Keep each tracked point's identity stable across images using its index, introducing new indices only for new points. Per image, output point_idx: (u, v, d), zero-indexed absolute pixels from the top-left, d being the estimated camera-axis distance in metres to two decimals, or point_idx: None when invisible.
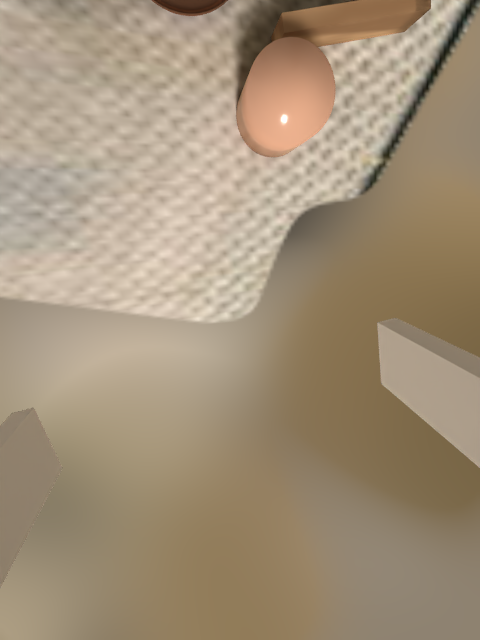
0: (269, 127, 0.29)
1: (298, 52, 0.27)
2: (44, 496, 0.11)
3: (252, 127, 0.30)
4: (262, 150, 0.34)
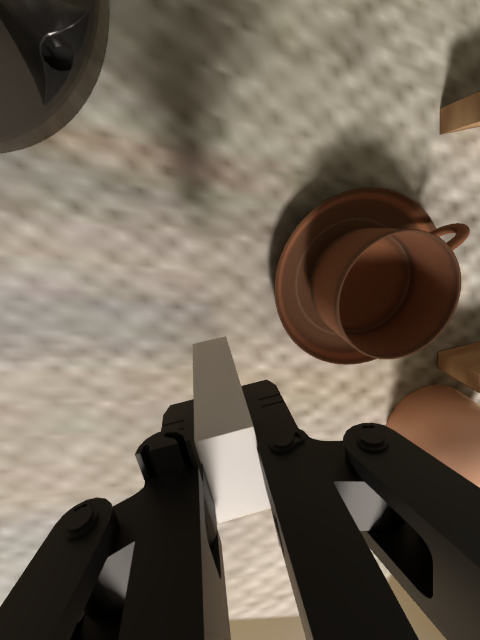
0: None
1: None
2: None
3: None
4: None
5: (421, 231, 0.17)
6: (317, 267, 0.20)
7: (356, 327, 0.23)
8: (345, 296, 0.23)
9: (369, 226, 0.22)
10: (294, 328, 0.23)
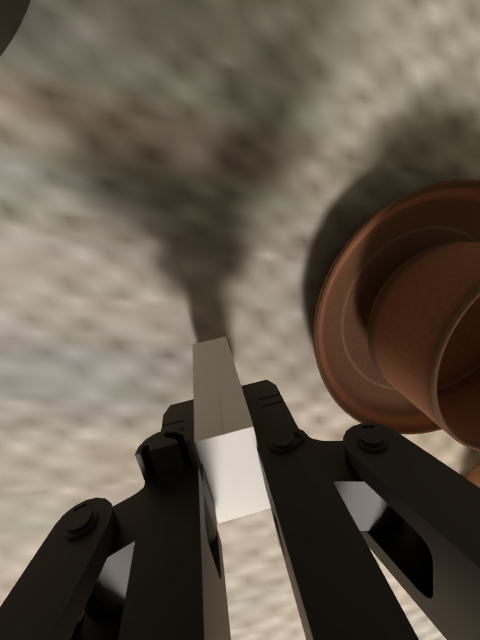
0: None
1: None
2: None
3: None
4: None
5: None
6: (381, 302, 0.13)
7: None
8: None
9: (450, 238, 0.15)
10: (339, 385, 0.16)
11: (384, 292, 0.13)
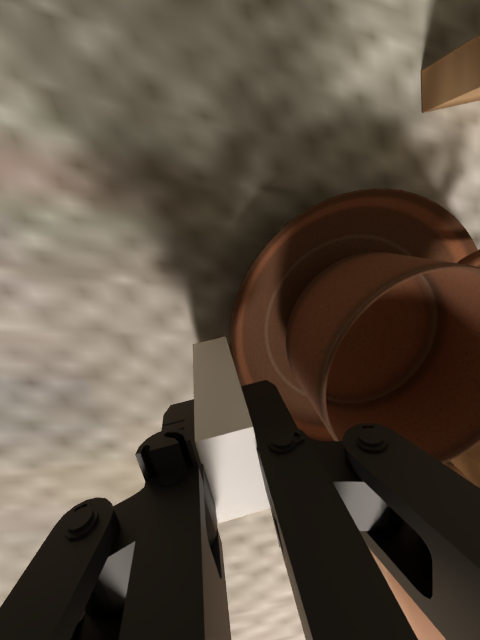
0: None
1: None
2: None
3: None
4: None
5: (469, 267, 0.09)
6: (293, 317, 0.13)
7: (358, 394, 0.15)
8: (341, 347, 0.16)
9: (373, 246, 0.15)
10: None
11: (296, 307, 0.13)
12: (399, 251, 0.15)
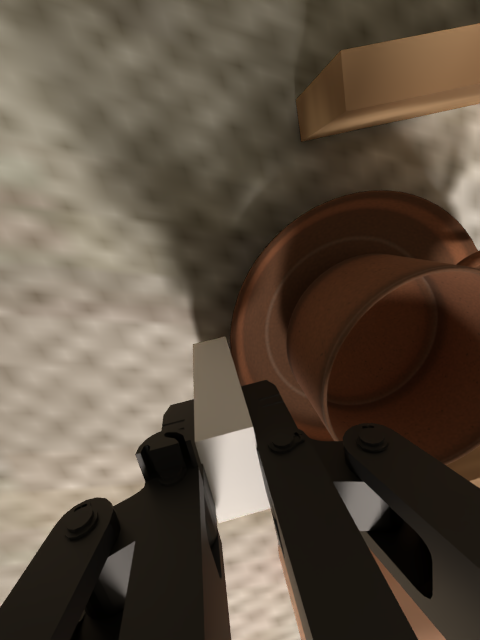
0: None
1: None
2: None
3: None
4: None
5: (469, 269, 0.09)
6: (294, 320, 0.13)
7: (359, 396, 0.15)
8: (341, 348, 0.16)
9: (372, 248, 0.15)
10: None
11: (297, 309, 0.13)
12: (399, 252, 0.15)
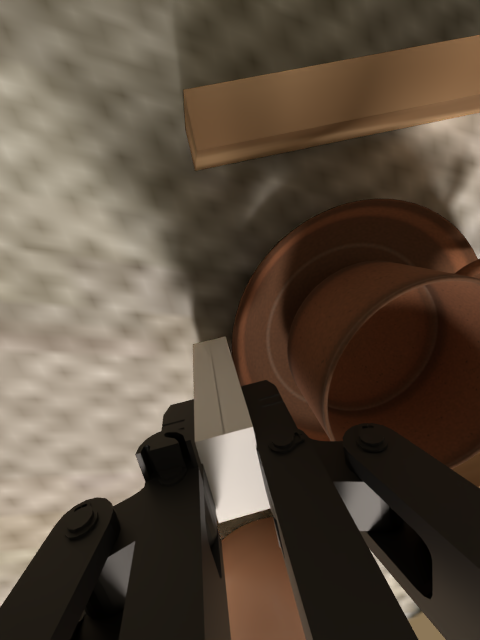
0: None
1: None
2: None
3: None
4: None
5: (469, 279, 0.09)
6: (295, 326, 0.13)
7: (359, 401, 0.16)
8: (342, 354, 0.16)
9: (373, 254, 0.15)
10: None
11: (298, 315, 0.13)
12: (400, 259, 0.15)
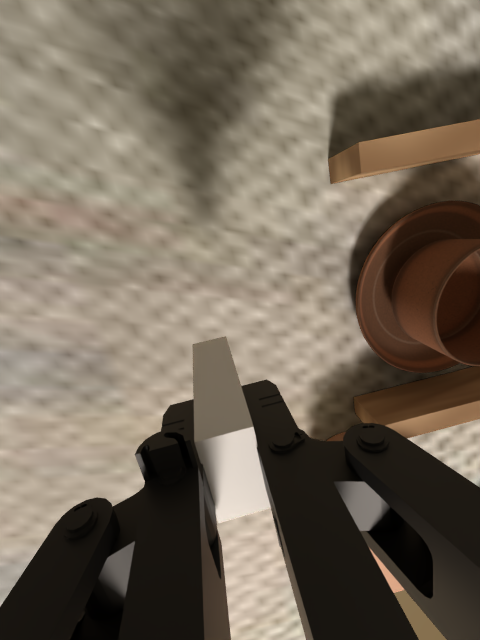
0: None
1: None
2: None
3: None
4: None
5: None
6: (400, 278, 0.21)
7: None
8: None
9: (444, 237, 0.23)
10: (372, 338, 0.23)
11: (402, 272, 0.21)
12: None
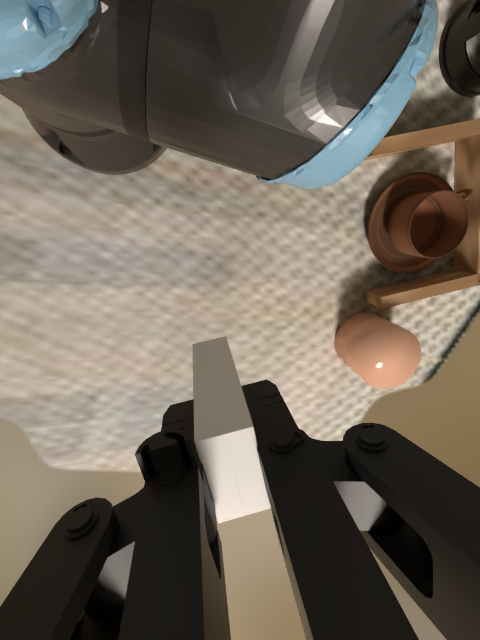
0: (372, 381, 0.39)
1: (396, 336, 0.38)
2: None
3: (356, 373, 0.41)
4: None
5: (449, 191, 0.35)
6: (392, 215, 0.38)
7: None
8: None
9: (417, 194, 0.40)
10: (376, 252, 0.41)
11: (393, 212, 0.38)
12: None
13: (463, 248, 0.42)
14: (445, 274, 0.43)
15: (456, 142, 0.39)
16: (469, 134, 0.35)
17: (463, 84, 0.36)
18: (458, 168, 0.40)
